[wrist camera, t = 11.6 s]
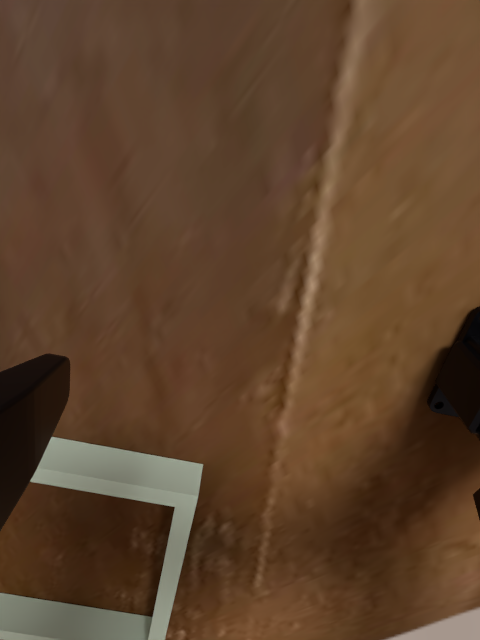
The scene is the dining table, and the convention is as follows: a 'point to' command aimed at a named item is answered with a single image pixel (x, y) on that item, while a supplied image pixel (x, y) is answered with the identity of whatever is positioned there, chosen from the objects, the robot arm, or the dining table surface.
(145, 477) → the empty rectangular frame
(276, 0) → the dining table surface
